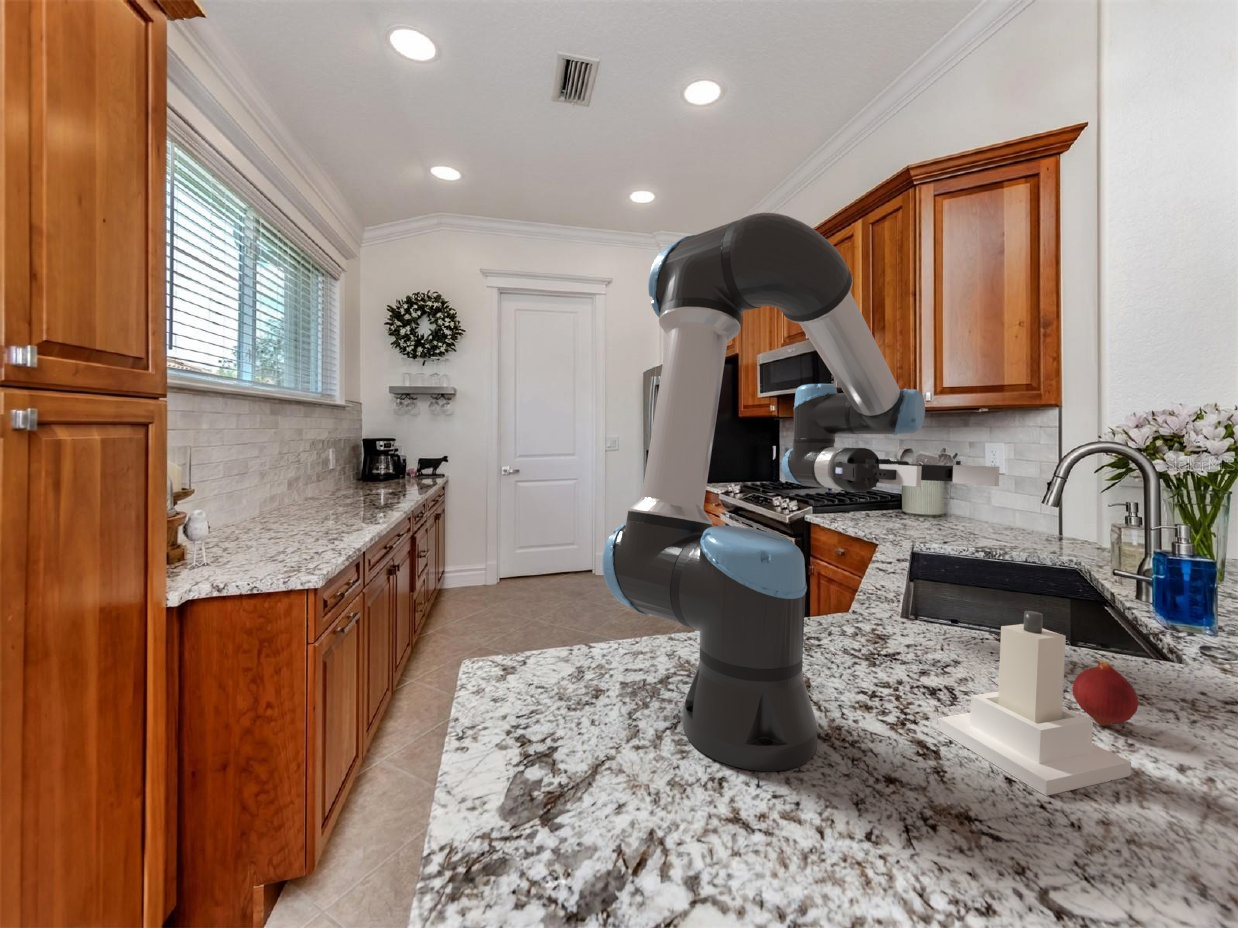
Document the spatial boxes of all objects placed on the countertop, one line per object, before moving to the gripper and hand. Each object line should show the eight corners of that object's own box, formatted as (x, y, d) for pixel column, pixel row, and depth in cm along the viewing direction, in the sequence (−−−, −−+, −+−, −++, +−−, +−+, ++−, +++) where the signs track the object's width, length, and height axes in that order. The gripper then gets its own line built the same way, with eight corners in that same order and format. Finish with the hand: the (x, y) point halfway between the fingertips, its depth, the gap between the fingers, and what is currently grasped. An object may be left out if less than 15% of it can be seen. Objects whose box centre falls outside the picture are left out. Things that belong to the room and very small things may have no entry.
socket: (938, 730, 62) (939, 689, 61) (1013, 717, 65) (1014, 678, 65) (1045, 796, 50) (1048, 745, 50) (1130, 776, 53) (1132, 728, 53)
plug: (996, 730, 59) (1001, 608, 58) (1022, 725, 60) (1028, 606, 59) (1033, 750, 55) (1039, 620, 54) (1060, 744, 56) (1066, 617, 56)
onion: (1108, 714, 66) (1112, 653, 66) (1150, 740, 60) (1154, 672, 60) (1059, 711, 67) (1063, 650, 66) (1096, 736, 61) (1100, 669, 61)
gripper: (905, 490, 94) (1026, 502, 73) (785, 491, 87) (882, 505, 66) (906, 448, 93) (1028, 450, 73) (786, 446, 86) (884, 447, 66)
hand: (959, 476), depth 70 cm, fingers open, 13 cm apart
